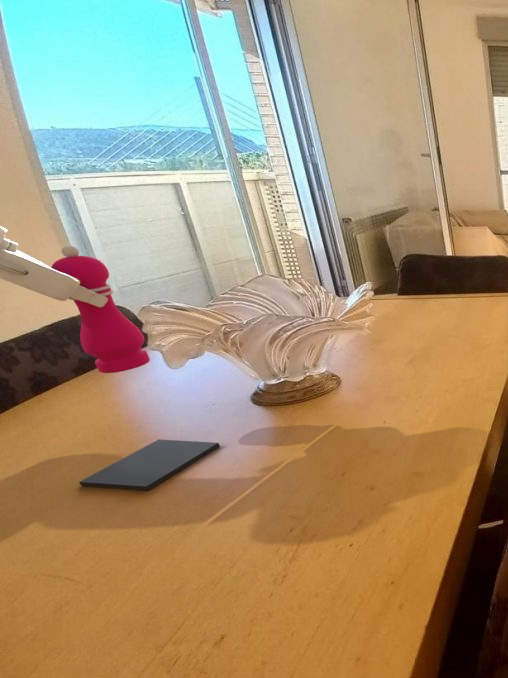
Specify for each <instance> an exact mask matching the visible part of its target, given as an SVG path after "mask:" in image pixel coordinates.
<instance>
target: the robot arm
mask: <svg viewBox="0 0 508 678" xmlns="http://www.w3.org/2000/svg"><path fill="white" fill-rule="evenodd" d="M7 234H8V229H6V228H4V227H2V226H0V280H3V281H6V282H8V283H12V284H14V285H17V286H19V287H22V288H25V289H27V290H30V291H32V292H35V293H38V294H41V295H43V296H46V297H48V298H51V299H55V300H57V301H61V302H65V301H68V300H69V299H68V298H69V297H70V298H73V299H76V300H80V301H83V302H87V303H89V304H92V305H95V306H97V307H103V306H104V305H105V304H106V302H107V301H108V298H107V297H105V296H102V295H100V294H97V293H95V292H93V291H91V290H88V289H86V288H84V287H82V286H80V285H79V284H80V281H79V280H78V279H76V278H74V277H72V276H69V275H67V274H65V273H62V272H60V271H57V270H55V269H52V268H51V267H52V266H49V265H47V264H46V263H44V262H41V261H40V260H37V259H35V258H34V257H32V256H30V255H28V254H26V253H24V252H22V251H20V250H18V249H19V243H17V242H14V241H12V240H10V239H7V238H6V236H7Z"/></svg>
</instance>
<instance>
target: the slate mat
mask: <svg viewBox="0 0 508 678" xmlns="http://www.w3.org/2000/svg"><path fill="white" fill-rule="evenodd" d="M220 447H221V446H220V444H219V442H212V441H195V440H193V441H192V440H177V439H159V438H158V439H157V440H155V441H153V442H151V443H149V444H147V445H146V446H143V447H142V448H140V449H137V450H136V451H134V452H132V453H130V454H129V455H127V456H124V457H123V458H121V459H119V460H117V461H116V462H114V463H111V464H110V465H108V466H106V467H104V468H103V469H100V470H99V471H97V472H95V473H93V474H91V475H89V476H87V477H85V478H84V479H82V480H80V481H78V483H79V485H80V486H81V487H91V488H101V489H102V488H104V489H118V490H128V491H129V490H131V491H143V492H144V491H145V492H146V491H147V492H149V491H151V490H152V489H154V488H155V487H157V486H159V485H160V484H162V483H164V482H165V481H167V480H169V479H170V478H172V477H173V476H176V475H177V474H178V473H180V472H181V471H183V470H185V469H186V468H188V467H190V466H191V465H192V464H194V463H196V462H197V461H199V460H201V459H202V458H204V457H205V456H207V455H209V454H210V453H212V452H214V451H215V450H217V449H219V448H220Z"/></svg>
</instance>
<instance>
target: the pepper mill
mask: <svg viewBox="0 0 508 678" xmlns="http://www.w3.org/2000/svg"><path fill="white" fill-rule="evenodd" d="M61 253H62V255H63V256H64V257H62V258H59V259H57V260H56V261H54V262H53V263H52V264H51V266H50V267H51V268H52V269H55V270H57V271H60V272H62V273H65V274H67V275H69V276H72V277H74V278H76V279H78V280H79V281H80V284H79V285H80V286H82V287H84V288H86V289H88V290H91V291H93V292H95V293H97V294H100V295H102V296H105V297H107V298H108V301H107V302H106V304H105V305H104V306H103V307H97V306H95V305H92V304H89V303H87V302H83V301H80V300H76V299H73V298H70V297H69V298H68V299H67V300H70V301H73V302H74V304H75V305H76V307H77V310H78V311H79V314H80V320H81V322H80V323H81V326H80V333H79V340H80V345H81V348H82V350H83V351H84V352H85V353H86V354H87V355H90V356H92V357H94V358H97V359H96V360H95V361H94V364H95V366H96V368H97V370H98V372H99V373H102V374H114V373H120V372H121V373H122V372H126V371H129V370H133V369H136V368H140V367H142V366H145V365H147V364H148V363H149V362H150V361H151V358H150V356H149V354H148V352H147V350H146V349H141V348H142V346H143V345H144V343H145V336H144V335H143V332H142V331H141V330H140V329H139V327H138V326H136V324H134V323H133V321H131V320H129V319H128V318H127V317H126V316H125V315H123V313H122V312H121V311H120V309H118V306H117V305H116V303H115V301H114V300H113V297H112V294H113V293H114V290H113V289H112V288H111V287H112V285H110V284H108V283H107V281H108V279H109V277H110V272H109V269H108V268H107V266H106V265H105V263H103V262H102V261H101V260H99V259H97V258H95V257H93V256H88V255H80V251H79V249H78V248H77V247H76V246H72V245H64V246H63V247H62V248H61Z"/></svg>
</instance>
